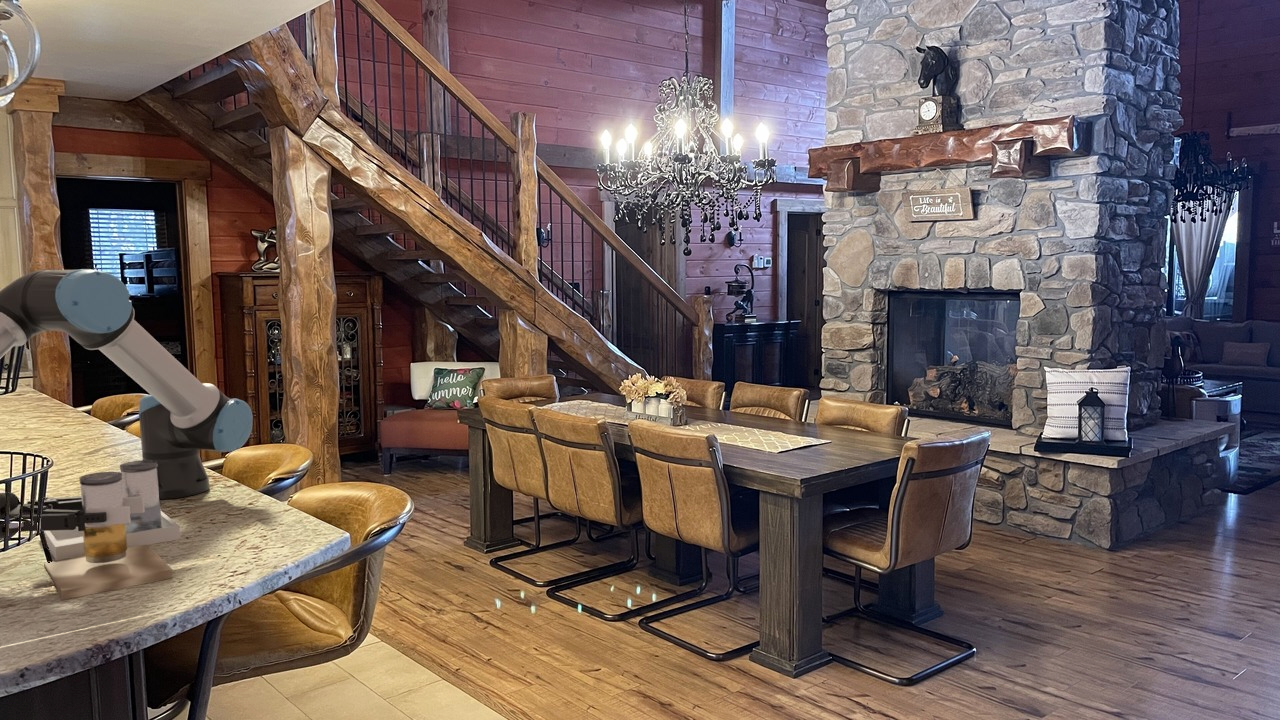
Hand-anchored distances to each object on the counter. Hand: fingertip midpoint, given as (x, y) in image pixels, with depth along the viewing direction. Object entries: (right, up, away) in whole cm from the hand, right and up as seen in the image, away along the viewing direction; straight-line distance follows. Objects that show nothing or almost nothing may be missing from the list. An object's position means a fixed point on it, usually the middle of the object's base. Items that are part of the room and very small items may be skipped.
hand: (136, 509), depth 163 cm
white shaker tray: (-14, -9, +18) cm, 24 cm away
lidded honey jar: (-5, -8, 0) cm, 10 cm away
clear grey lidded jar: (-8, -8, +19) cm, 22 cm away
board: (-5, -11, 0) cm, 12 cm away
